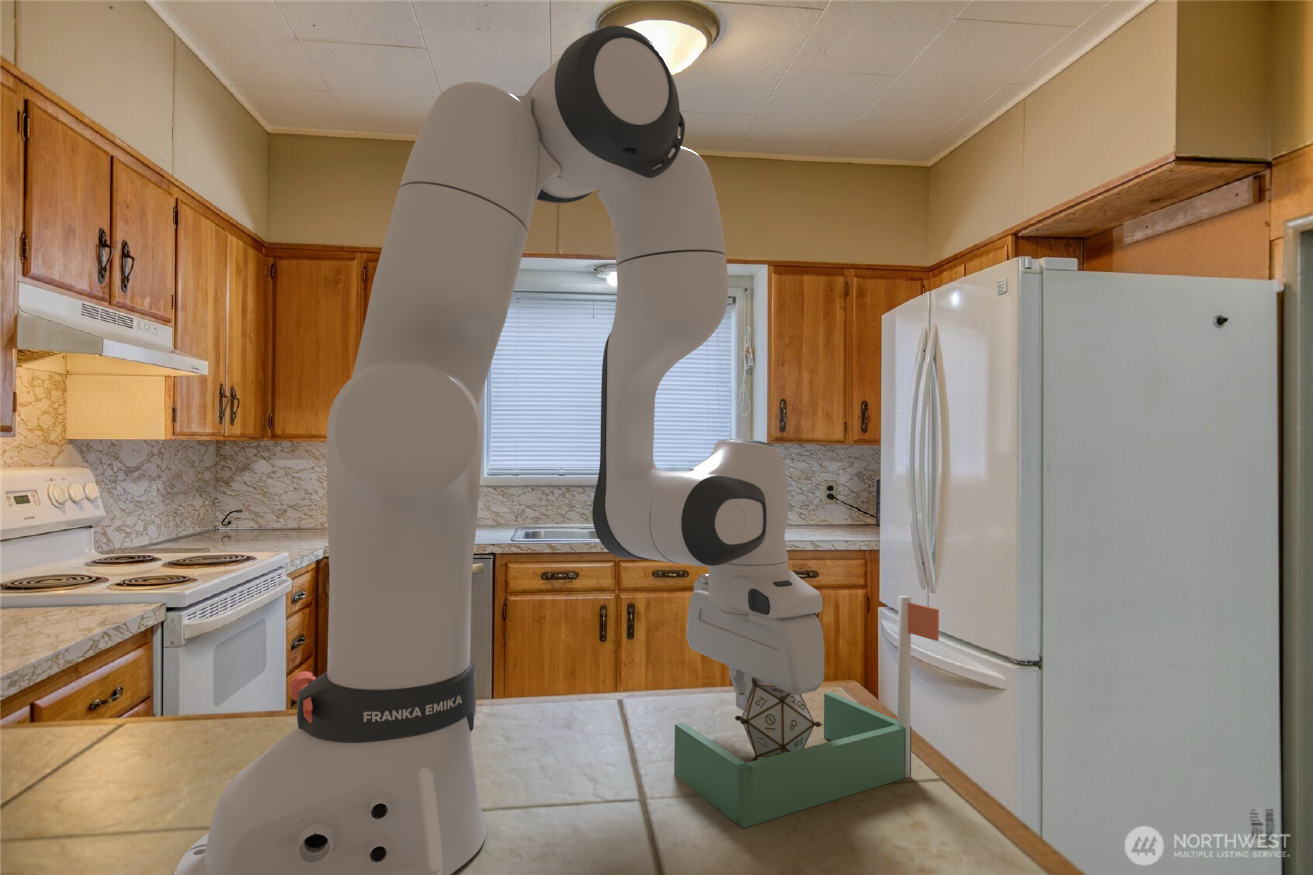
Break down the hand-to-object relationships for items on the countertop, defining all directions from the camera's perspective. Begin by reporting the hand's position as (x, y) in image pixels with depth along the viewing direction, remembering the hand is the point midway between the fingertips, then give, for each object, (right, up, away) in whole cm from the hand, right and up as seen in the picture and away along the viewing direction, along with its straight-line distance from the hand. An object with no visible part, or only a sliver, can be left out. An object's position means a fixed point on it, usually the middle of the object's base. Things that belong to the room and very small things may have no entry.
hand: (748, 710), depth 78 cm
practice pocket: (+4, -4, -9) cm, 11 cm away
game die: (+2, -4, -4) cm, 6 cm away
